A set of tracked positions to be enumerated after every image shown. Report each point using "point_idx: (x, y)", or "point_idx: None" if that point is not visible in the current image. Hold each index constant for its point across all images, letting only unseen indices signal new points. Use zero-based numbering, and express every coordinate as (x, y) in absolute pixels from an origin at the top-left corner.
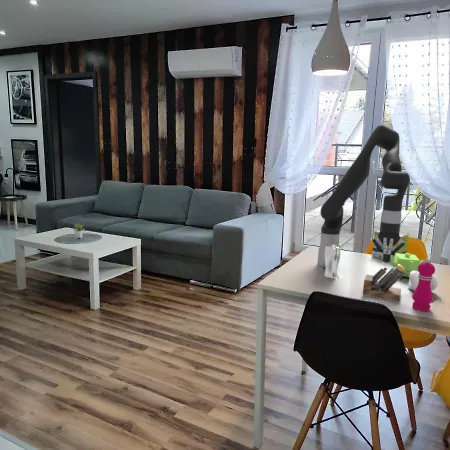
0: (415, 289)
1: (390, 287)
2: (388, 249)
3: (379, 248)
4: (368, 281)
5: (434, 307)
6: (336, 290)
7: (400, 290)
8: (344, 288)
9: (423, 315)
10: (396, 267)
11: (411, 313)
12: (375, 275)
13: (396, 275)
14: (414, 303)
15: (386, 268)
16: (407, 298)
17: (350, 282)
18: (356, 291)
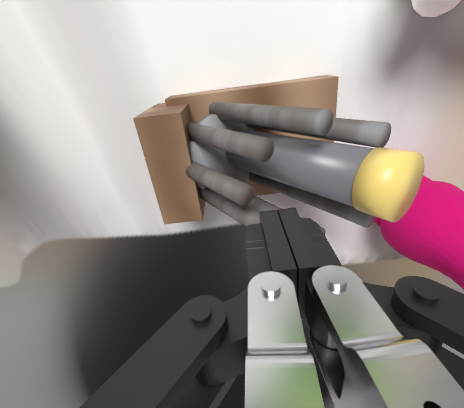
0: (413, 245)
1: (281, 92)
2: (332, 394)
3: (197, 401)
4: (187, 218)
5: (453, 156)
6: (77, 206)
7: (333, 111)
8: (85, 162)
9: (392, 249)
10: (356, 208)
11: (356, 254)
12: (206, 186)
13: (339, 215)
14: (379, 218)
15: (268, 150)
16: (356, 115)
17: (48, 41)
18: (143, 167)
